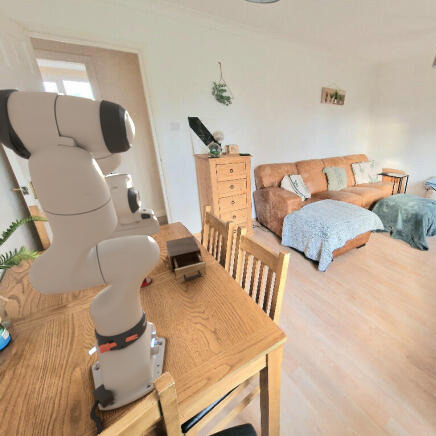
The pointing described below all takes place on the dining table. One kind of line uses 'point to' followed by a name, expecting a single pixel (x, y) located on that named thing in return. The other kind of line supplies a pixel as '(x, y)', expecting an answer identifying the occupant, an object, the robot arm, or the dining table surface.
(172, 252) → the cabinet
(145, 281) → the brown post red base
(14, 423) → the dining table surface
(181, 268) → the drawer
